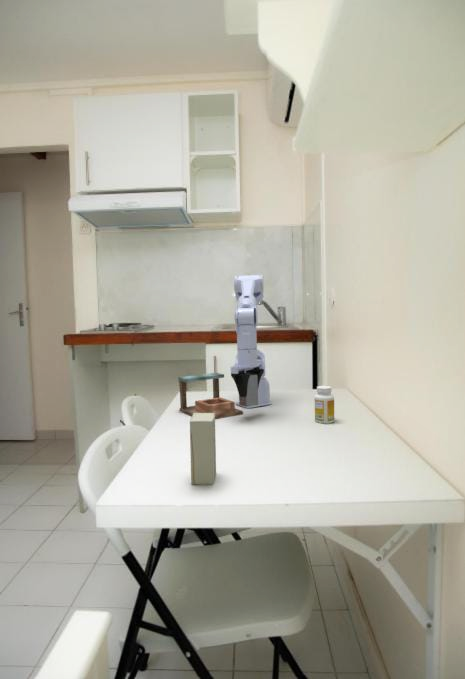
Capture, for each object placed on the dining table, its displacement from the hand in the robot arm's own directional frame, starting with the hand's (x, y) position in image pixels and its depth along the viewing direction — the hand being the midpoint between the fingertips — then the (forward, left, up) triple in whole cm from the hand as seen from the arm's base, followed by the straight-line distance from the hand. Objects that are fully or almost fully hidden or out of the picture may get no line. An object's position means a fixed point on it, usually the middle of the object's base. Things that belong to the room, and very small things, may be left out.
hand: (248, 394), depth 129 cm
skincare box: (+32, +34, -7) cm, 47 cm away
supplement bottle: (-15, +16, -7) cm, 23 cm away
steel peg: (0, 0, -3) cm, 3 cm away
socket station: (+6, -13, -7) cm, 16 cm away
